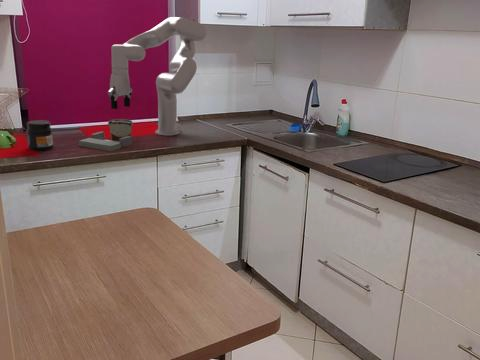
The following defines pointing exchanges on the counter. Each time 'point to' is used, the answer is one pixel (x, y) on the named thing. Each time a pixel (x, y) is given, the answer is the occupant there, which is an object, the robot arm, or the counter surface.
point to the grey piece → (105, 142)
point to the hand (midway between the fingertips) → (120, 107)
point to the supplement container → (39, 135)
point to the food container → (120, 128)
